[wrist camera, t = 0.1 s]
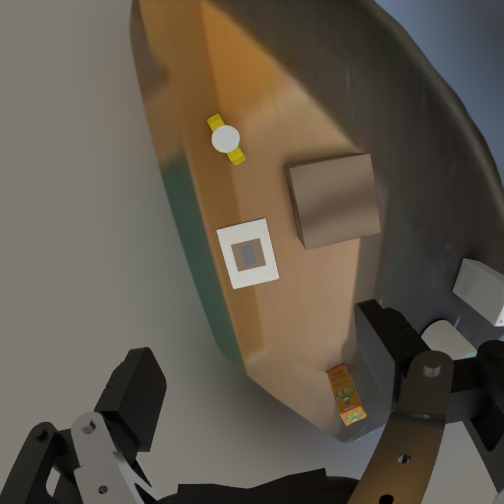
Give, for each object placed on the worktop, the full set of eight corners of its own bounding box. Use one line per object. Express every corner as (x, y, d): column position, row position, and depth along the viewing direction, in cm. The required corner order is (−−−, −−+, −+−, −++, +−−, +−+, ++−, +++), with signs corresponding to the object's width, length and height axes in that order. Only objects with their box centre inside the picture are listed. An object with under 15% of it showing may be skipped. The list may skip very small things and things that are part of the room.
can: (411, 353, 44) (442, 398, 32) (425, 317, 42) (464, 360, 30) (440, 351, 44) (472, 392, 33) (454, 318, 42) (493, 356, 31)
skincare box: (466, 293, 41) (509, 328, 29) (449, 291, 40) (494, 328, 29) (478, 259, 39) (526, 288, 27) (462, 255, 38) (511, 286, 27)
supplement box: (343, 361, 43) (362, 405, 34) (350, 374, 44) (368, 417, 35) (324, 370, 44) (339, 416, 34) (332, 383, 45) (347, 427, 35)
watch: (204, 125, 32) (196, 119, 27) (225, 113, 32) (221, 105, 26) (230, 168, 34) (228, 170, 28) (251, 156, 34) (252, 156, 28)
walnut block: (283, 166, 34) (289, 168, 30) (354, 152, 34) (369, 153, 29) (298, 237, 37) (305, 250, 32) (364, 222, 37) (380, 232, 32)
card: (216, 229, 36) (216, 230, 36) (265, 217, 36) (265, 218, 36) (233, 288, 39) (233, 289, 38) (278, 277, 39) (279, 278, 38)
